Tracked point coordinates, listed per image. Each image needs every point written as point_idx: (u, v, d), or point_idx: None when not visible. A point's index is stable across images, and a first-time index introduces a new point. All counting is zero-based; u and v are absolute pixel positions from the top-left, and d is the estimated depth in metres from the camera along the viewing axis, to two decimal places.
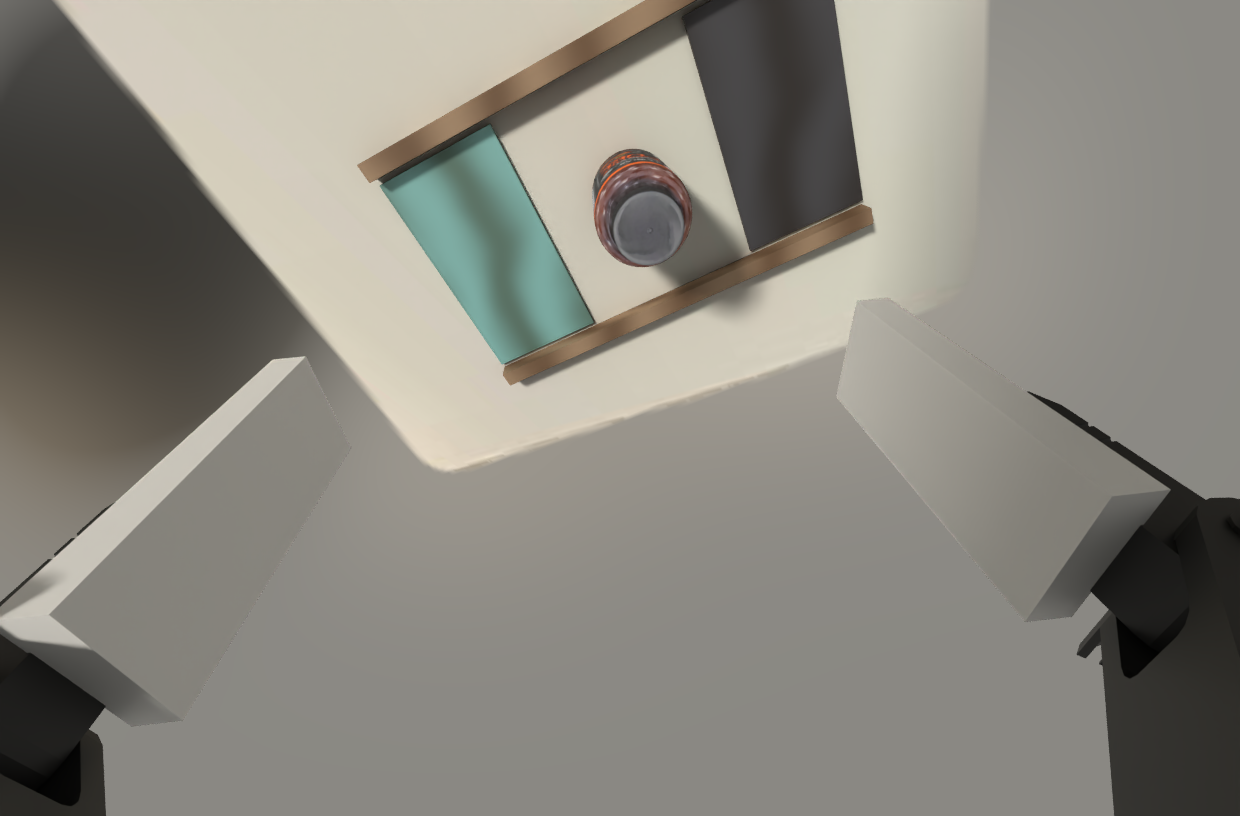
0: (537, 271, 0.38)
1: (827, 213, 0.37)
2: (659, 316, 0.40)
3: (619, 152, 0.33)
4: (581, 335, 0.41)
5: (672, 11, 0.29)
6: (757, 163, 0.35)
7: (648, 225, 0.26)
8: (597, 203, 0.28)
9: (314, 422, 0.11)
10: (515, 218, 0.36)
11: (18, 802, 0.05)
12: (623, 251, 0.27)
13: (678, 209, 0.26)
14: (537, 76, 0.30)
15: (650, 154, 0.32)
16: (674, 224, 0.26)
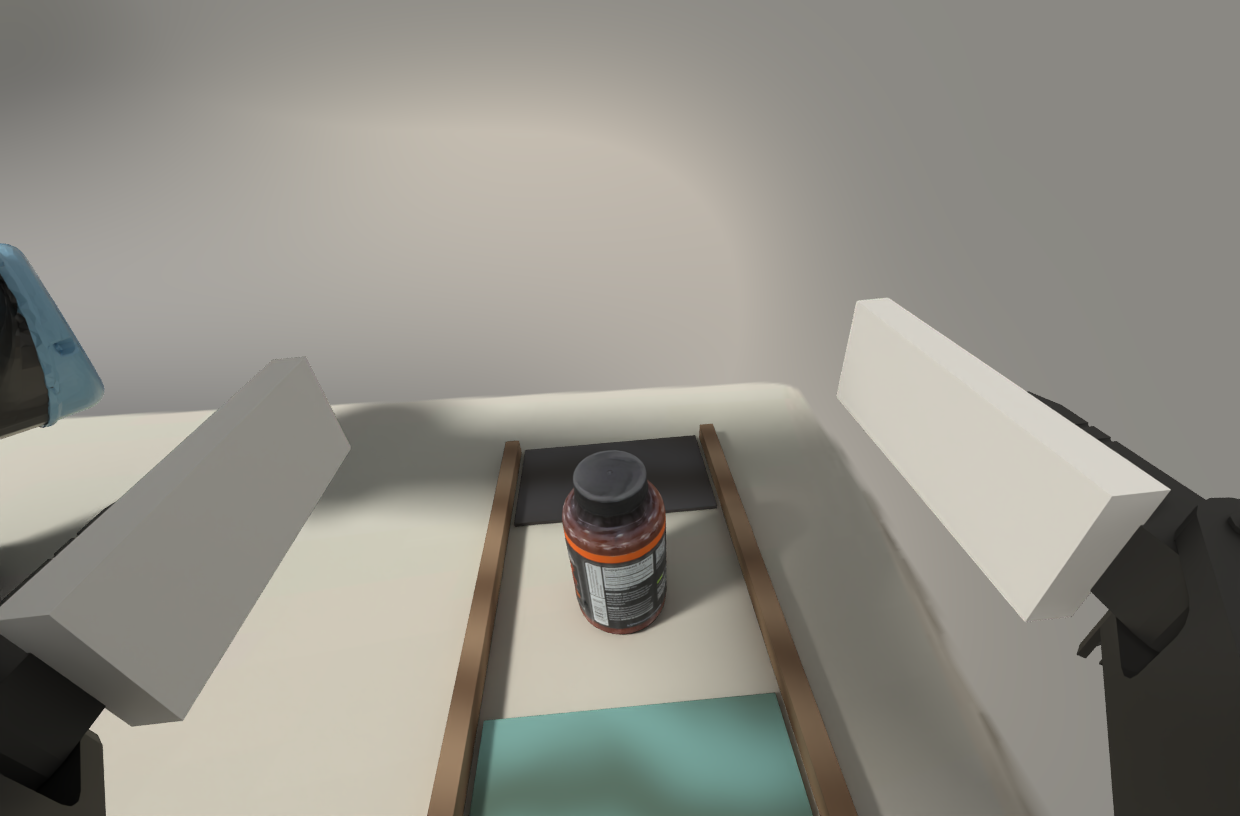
0: (674, 746, 0.25)
1: (698, 454, 0.43)
2: (771, 592, 0.30)
3: None
4: (792, 714, 0.25)
5: (503, 521, 0.36)
6: None
7: (604, 472, 0.26)
8: (579, 542, 0.26)
9: (314, 422, 0.11)
10: (592, 743, 0.25)
11: (18, 802, 0.05)
12: (619, 496, 0.24)
13: (602, 451, 0.27)
14: (475, 634, 0.29)
15: None
16: (613, 455, 0.27)
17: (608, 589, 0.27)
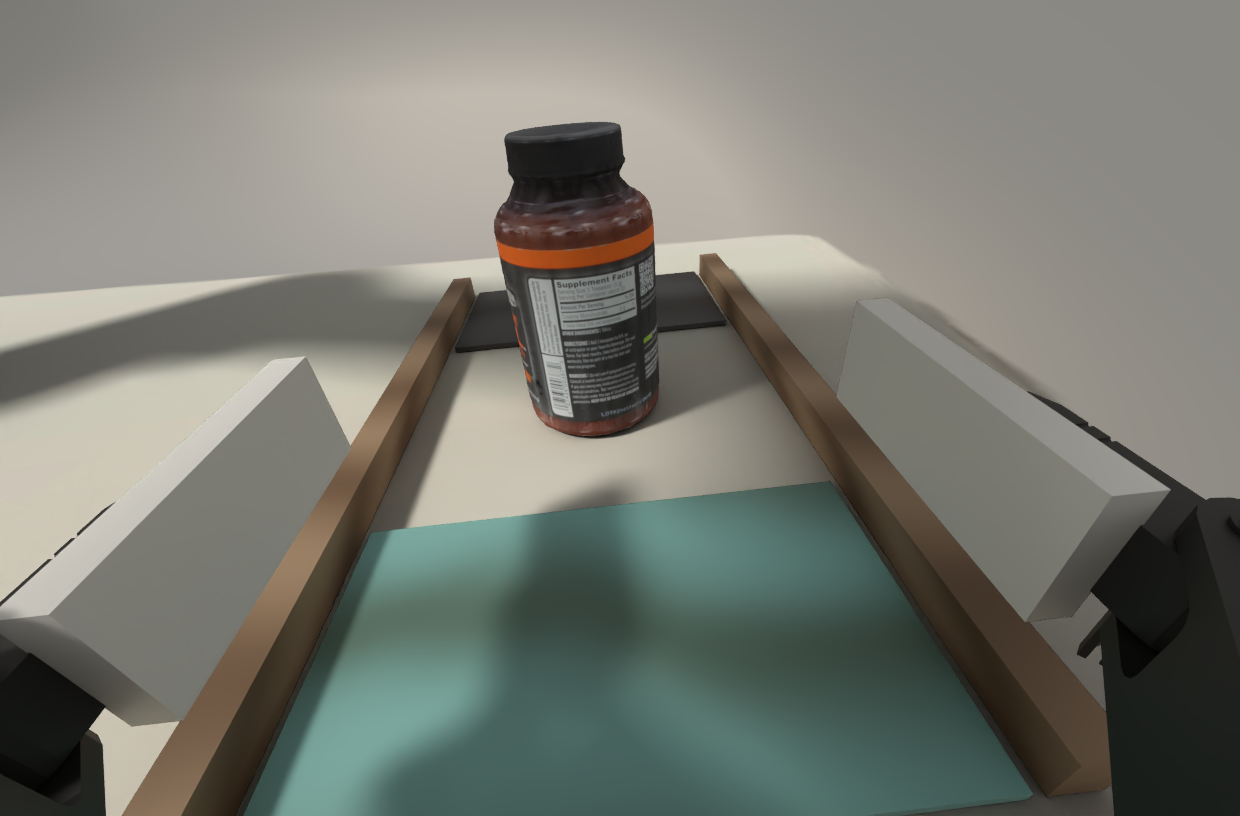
0: (674, 547, 0.15)
1: (699, 284, 0.34)
2: (812, 372, 0.21)
3: None
4: (864, 496, 0.15)
5: (438, 335, 0.27)
6: None
7: (554, 128, 0.16)
8: (515, 236, 0.16)
9: (314, 422, 0.11)
10: (540, 549, 0.15)
11: (18, 802, 0.05)
12: (575, 133, 0.15)
13: (554, 126, 0.18)
14: (374, 432, 0.19)
15: None
16: (570, 124, 0.17)
17: (567, 334, 0.17)
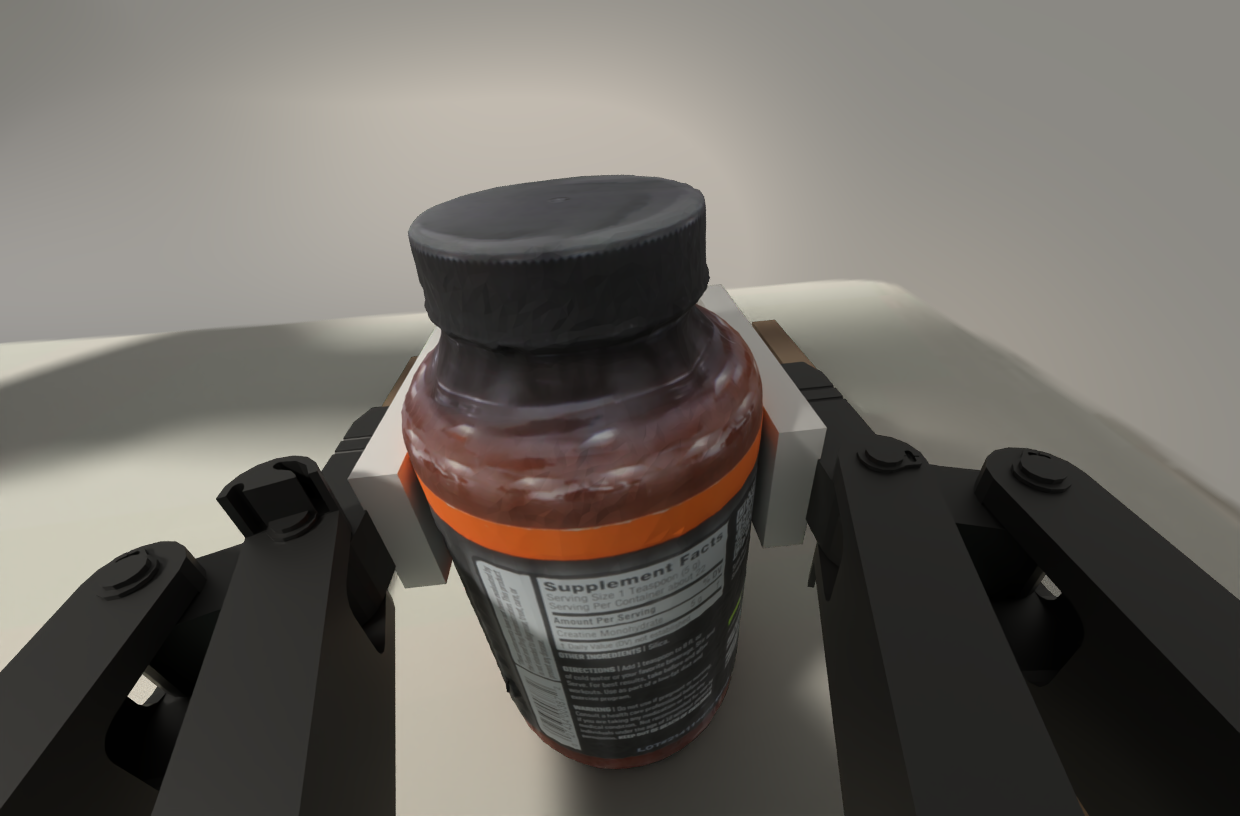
0: None
1: None
2: None
3: None
4: None
5: None
6: None
7: (538, 201, 0.07)
8: (438, 478, 0.06)
9: None
10: None
11: (359, 641, 0.06)
12: (594, 234, 0.05)
13: None
14: None
15: None
16: (578, 180, 0.08)
17: (570, 657, 0.08)
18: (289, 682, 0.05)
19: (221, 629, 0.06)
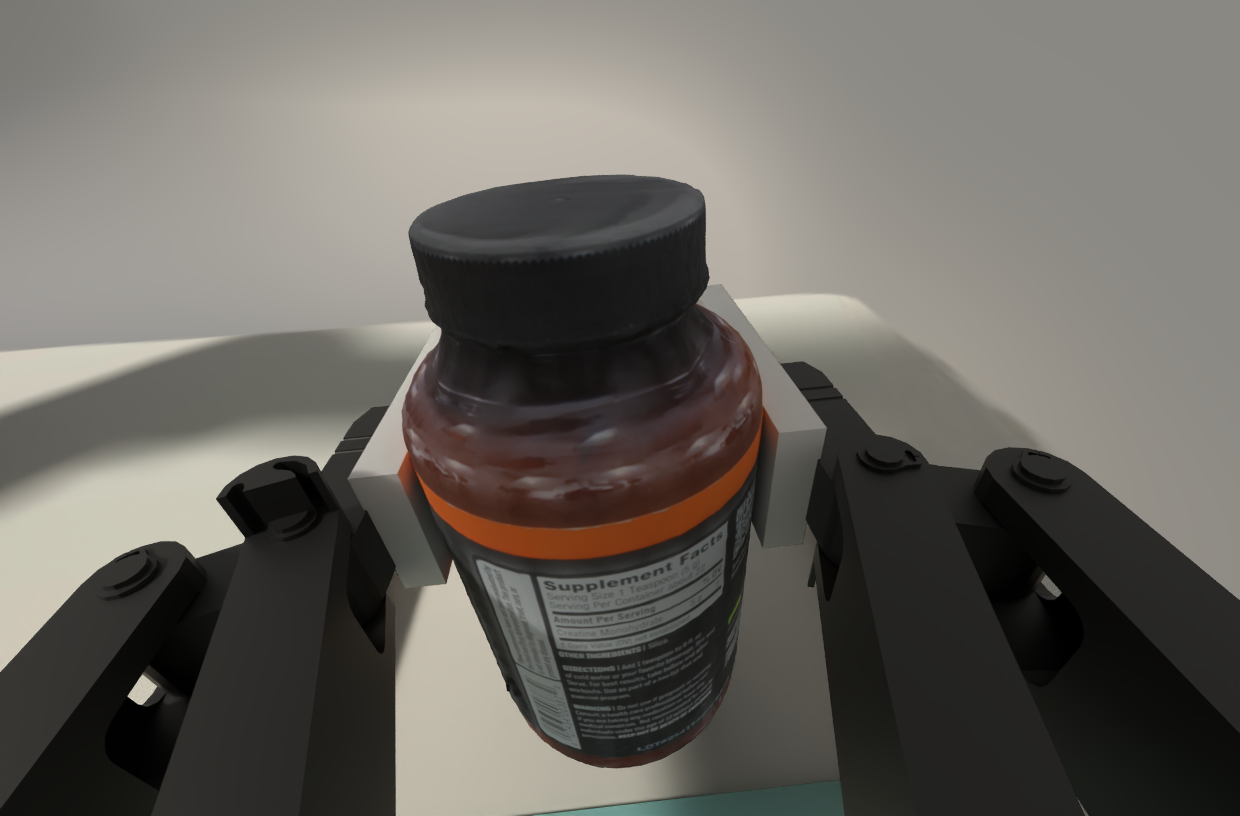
0: None
1: None
2: None
3: None
4: None
5: None
6: None
7: (538, 200, 0.07)
8: (439, 478, 0.06)
9: None
10: None
11: (359, 641, 0.06)
12: (594, 234, 0.05)
13: None
14: None
15: None
16: (578, 179, 0.08)
17: (569, 655, 0.08)
18: (290, 681, 0.05)
19: (220, 629, 0.06)
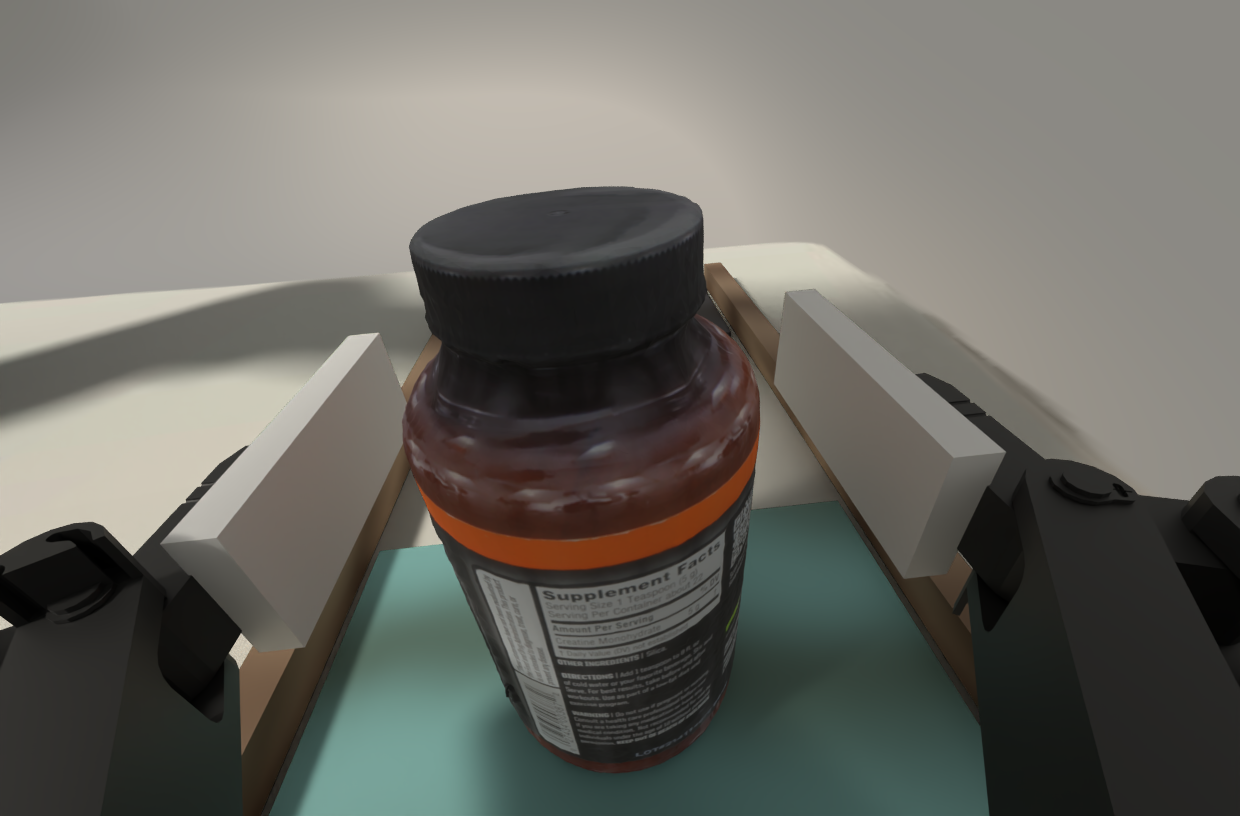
0: None
1: None
2: None
3: None
4: None
5: None
6: None
7: (538, 214, 0.07)
8: (439, 489, 0.06)
9: (387, 394, 0.12)
10: None
11: (181, 713, 0.06)
12: (593, 250, 0.05)
13: None
14: None
15: None
16: (577, 191, 0.08)
17: (568, 663, 0.08)
18: (75, 774, 0.04)
19: None
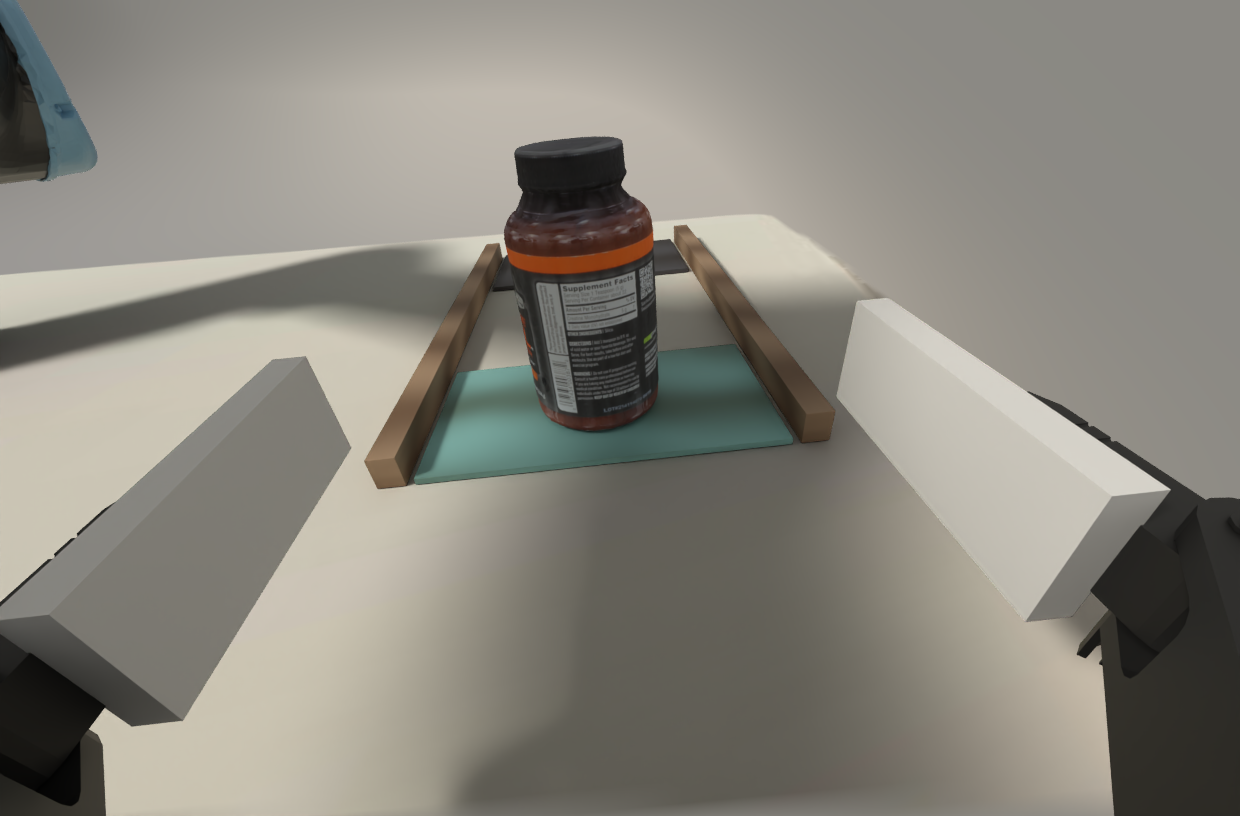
0: None
1: (672, 247, 0.45)
2: (734, 289, 0.32)
3: None
4: (749, 345, 0.26)
5: (482, 276, 0.38)
6: None
7: (561, 143, 0.18)
8: (524, 244, 0.17)
9: (314, 422, 0.11)
10: None
11: (18, 802, 0.05)
12: (580, 149, 0.16)
13: (560, 140, 0.19)
14: (451, 323, 0.30)
15: None
16: (576, 138, 0.19)
17: (572, 334, 0.19)
18: None
19: None
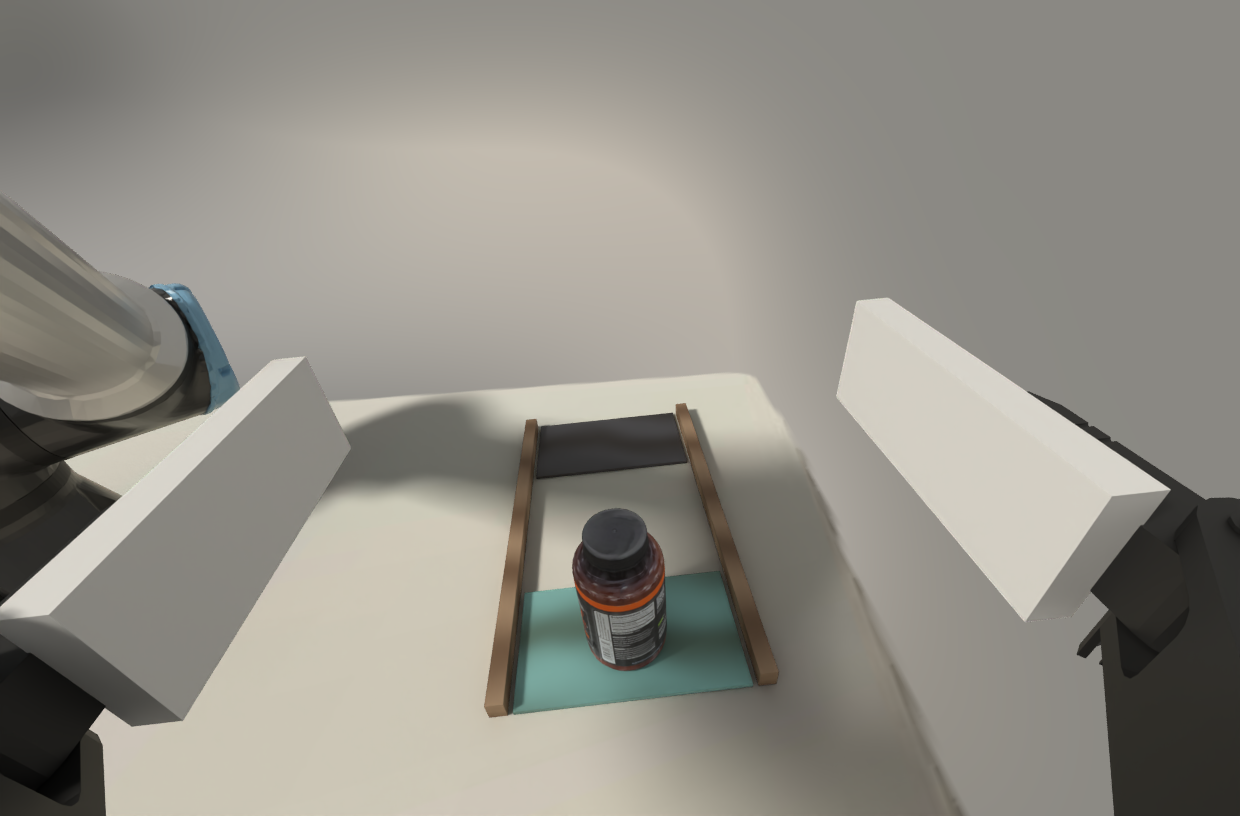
0: None
1: (674, 426, 0.56)
2: (720, 511, 0.43)
3: None
4: (729, 580, 0.38)
5: (529, 473, 0.49)
6: (629, 453, 0.53)
7: (609, 530, 0.29)
8: (588, 594, 0.29)
9: (314, 422, 0.11)
10: None
11: (18, 802, 0.05)
12: (623, 554, 0.28)
13: None
14: (515, 542, 0.42)
15: None
16: (617, 513, 0.30)
17: (615, 633, 0.30)
18: None
19: None
